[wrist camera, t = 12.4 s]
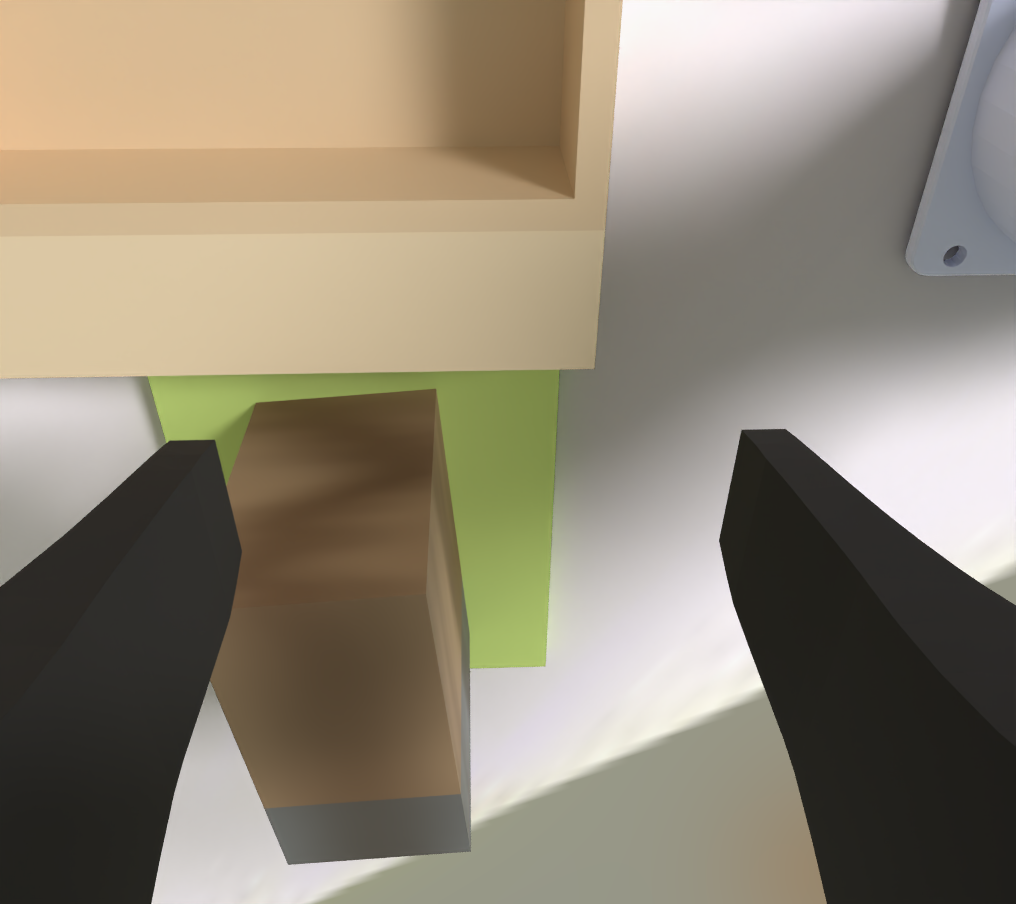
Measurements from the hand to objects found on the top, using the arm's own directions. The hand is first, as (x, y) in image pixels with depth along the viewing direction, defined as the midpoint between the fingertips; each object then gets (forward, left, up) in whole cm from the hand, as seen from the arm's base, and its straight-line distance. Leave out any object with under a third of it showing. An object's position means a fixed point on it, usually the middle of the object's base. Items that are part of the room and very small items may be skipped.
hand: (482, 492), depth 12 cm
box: (+3, +9, -9) cm, 13 cm away
